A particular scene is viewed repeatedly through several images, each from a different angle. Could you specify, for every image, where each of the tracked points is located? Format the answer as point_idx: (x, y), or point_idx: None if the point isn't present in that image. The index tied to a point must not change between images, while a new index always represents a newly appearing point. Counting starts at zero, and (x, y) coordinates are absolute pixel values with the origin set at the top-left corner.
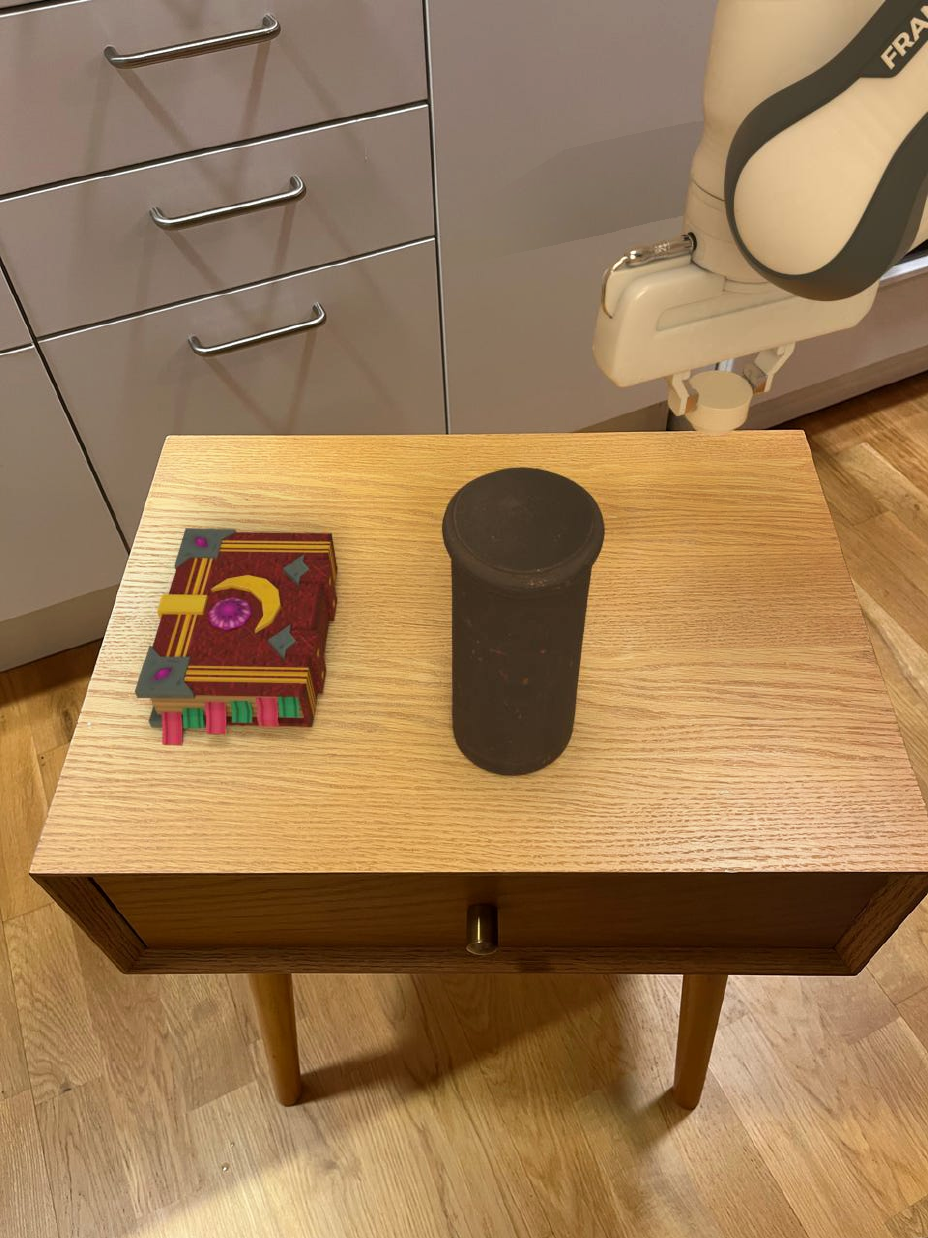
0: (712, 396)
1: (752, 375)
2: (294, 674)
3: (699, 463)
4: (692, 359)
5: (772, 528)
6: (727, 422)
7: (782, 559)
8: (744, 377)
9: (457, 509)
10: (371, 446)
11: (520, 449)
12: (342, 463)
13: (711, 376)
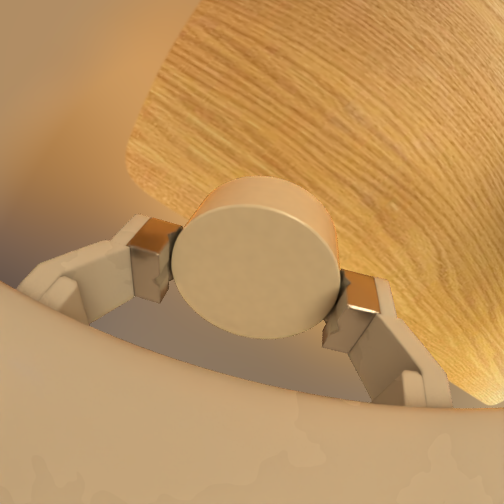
0: (289, 278)
1: (160, 269)
2: None
3: None
4: (458, 450)
5: (235, 64)
6: (294, 194)
7: (266, 16)
8: (169, 275)
9: None
10: None
11: None
12: (470, 373)
13: (234, 318)
